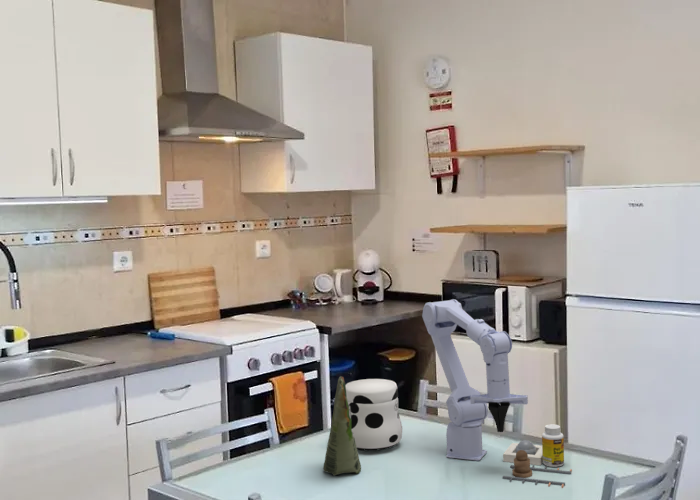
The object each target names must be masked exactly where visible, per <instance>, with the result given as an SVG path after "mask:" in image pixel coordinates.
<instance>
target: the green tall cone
mask: <svg viewBox="0 0 700 500" xmlns="http://www.w3.org/2000/svg"><path fill="white" fill-rule="evenodd" d="M345 381H346V380H345V378H344V376H341V375H340V376H339V377H338V379H337V385H336V391H335V396H334V403H333V411H332V412H333V413H332V418H331V425H330V431H329V436H328V442H327V446H326V451H325V456H324V463H323V468H322V470H323V471H324V472H326V473H329V474H331V475H333V476H336V475H337V476H338V475H341V474H345V473H346V474H347V473H348V474H349V473H355V474H360V473H359V472H361V470H362V465H361V461H360V457H359V452H358V451H359V450H358V449H357V447H356V442H355V438H354V437H353V434H352V430H351V418H350V416H349V405H348V401H347V394H346V386H345V385H346V382H345Z"/></svg>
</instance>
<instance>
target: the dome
mask: <svg viewBox="0 0 700 500" xmlns="http://www.w3.org/2000/svg"><path fill="white" fill-rule="evenodd" d="M534 445H535V444H533V442H531V441H530V440H528V439H523V440H521V441H519V442H518V445H517V446H516V453H517V452H518V451H519V450H524V451H526V453H527V454H530V455H535V454H536V447H535V446H534Z"/></svg>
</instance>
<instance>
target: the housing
mask: <svg viewBox="0 0 700 500" xmlns="http://www.w3.org/2000/svg"><path fill="white" fill-rule="evenodd" d="M518 444H519V442H518V443H516V442H512V443H510V444H509V446H508V447H507V449H506V450H505V451H504V453H502V459H503V460H502V462H504V463H512V464H514V458H516V446H517V445H518ZM533 445H534V446H535V447H536V454H535V455H530V454H527V455H528V458H529V459H530V465H532V466H533V465H534V466H541V465H542V464H543V456H542V445H539V444H533Z"/></svg>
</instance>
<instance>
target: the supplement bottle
mask: <svg viewBox="0 0 700 500" xmlns="http://www.w3.org/2000/svg"><path fill="white" fill-rule="evenodd" d="M561 431H562V430H561V426H560V425H559V424H554V423H550V424H546V425H544V432H542V433H541V446H542V456H543V463H542V464H544V465H545V466H546V467H551V468H559V467H562V466H563V465H564V464H565V441H564V437H565V436H564V434H563V432H561Z"/></svg>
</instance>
